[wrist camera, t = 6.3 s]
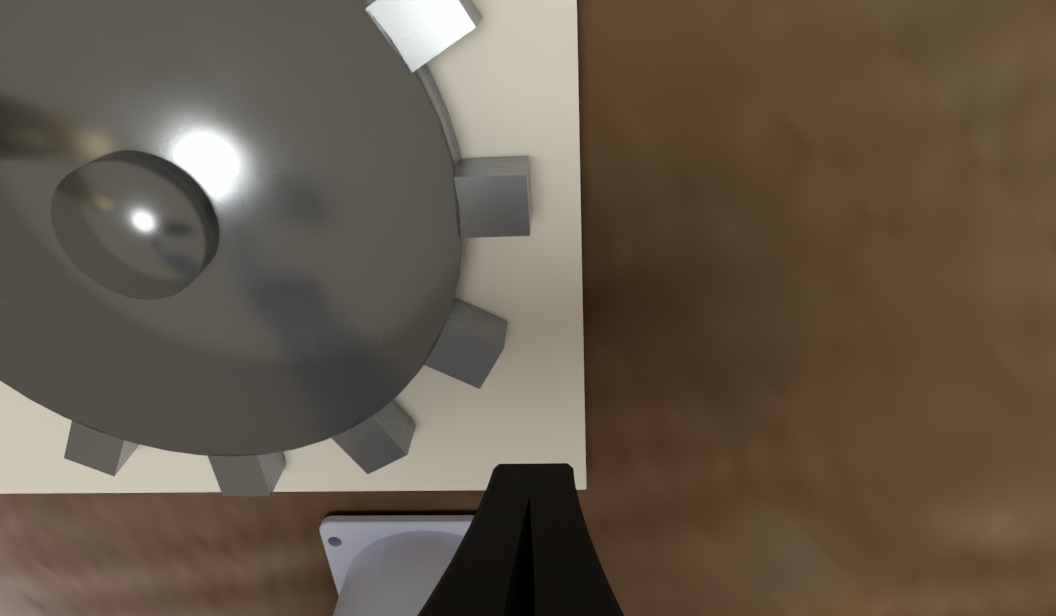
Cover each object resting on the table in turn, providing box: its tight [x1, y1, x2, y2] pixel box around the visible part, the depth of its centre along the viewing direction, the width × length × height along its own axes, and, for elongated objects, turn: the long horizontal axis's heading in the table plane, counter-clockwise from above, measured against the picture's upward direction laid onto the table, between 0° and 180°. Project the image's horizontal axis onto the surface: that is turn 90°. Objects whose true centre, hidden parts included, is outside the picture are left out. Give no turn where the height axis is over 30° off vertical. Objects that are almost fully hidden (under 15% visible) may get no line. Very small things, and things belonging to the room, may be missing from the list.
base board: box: [0, 0, 586, 494], centre depth 19 cm, size 22×22×2 cm
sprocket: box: [0, 0, 532, 496], centre depth 17 cm, size 19×19×5 cm
